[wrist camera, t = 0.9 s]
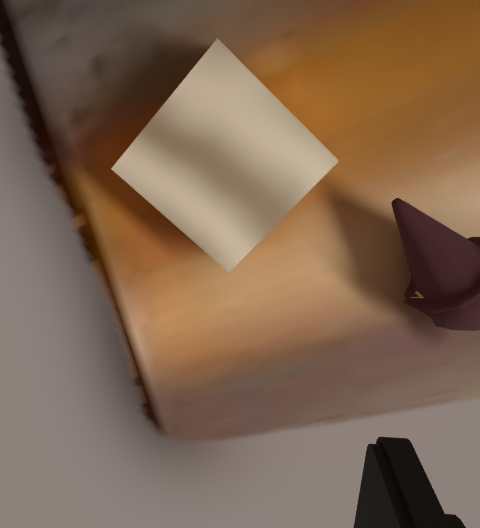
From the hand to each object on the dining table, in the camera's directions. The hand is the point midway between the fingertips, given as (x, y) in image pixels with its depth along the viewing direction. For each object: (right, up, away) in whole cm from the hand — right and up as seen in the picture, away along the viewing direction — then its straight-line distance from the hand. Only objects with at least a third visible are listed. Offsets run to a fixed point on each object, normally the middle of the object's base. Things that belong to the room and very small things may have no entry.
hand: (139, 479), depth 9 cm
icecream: (+17, +4, +25) cm, 31 cm away
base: (+1, +12, +23) cm, 26 cm away
